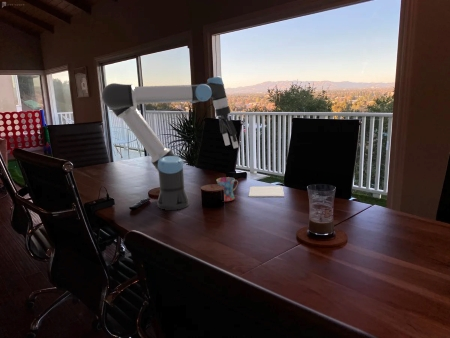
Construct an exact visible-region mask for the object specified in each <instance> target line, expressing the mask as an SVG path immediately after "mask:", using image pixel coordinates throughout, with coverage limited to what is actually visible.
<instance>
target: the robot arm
mask: <svg viewBox="0 0 450 338" xmlns="http://www.w3.org/2000/svg"><path fill="white" fill-rule="evenodd" d="M101 99H102V102H103V104H104V105H105V106H106V107H108V108H109V109H111V112H112V113H114V115H115V116H116V117H117V118H119V119H122V120H123V122H124V123H125V124H126V126H127V127H128V128H129V129H130V131H131V132H132V133H133V135H134V136H135V137H136V139H137V140H138V141H139V144H141V146H142V147H143V148H144V150H145V151H146V152H147V153H148V155H149V157H151V160H150V161H151V164H152V165H153V166H154V168H155V169H156V170H157V172H158V180H159V195H158V199H157V208H158V207H159V208H161V209H160V210H162V209H165V210H164V211H177V209H178V210H182V209H186V208H187V207H189V206H190V200H189V197H188V194H187V192H186V190H185V178H184V162H183V159H182V158H181V157H179V156H177V155H175V154H174V153H173V151H172V150H171V148H168V147H165V145H164V144H163V143H162V141H161V140H160V138H159V137H158V135H157V133H155V131H154V130H153V128H152V127H151V126H150V124H149V123H148V121H147V120H146V119H145V118H144V116H143V115H142V114H141V112H140V111H139V110H138V105H143V104H145V105H147V104H148V105H149V104H163V103H164V104H165V103H167V104H168V103H186V102H187V103H190V104H194V103H199V102H207V101H209V99H212V104H213V107H214V111H215V115H216V117H218V122H219V133H220V134H222V138H223V141H224V145H225V146H229V145H231V143H232V147H233V149H237V148H239V143H238V139H237V135H238V132H237V130H236V127H235V125H234V122H233V120H232V116H231V115H230V113H231V109H230V105H229V102H228V101H229V98H227V93H226V89H225V85H224V81H223V78H222V76H220V75H218V76H215V77H210V78H208V79H207V82H206V83H200V84H179V85H177V84H176V85H150V86H149V85H148V86H147V85H146V86H143V85H142V86H135V85H133V84H132V83H131V84H122V83H116V82H115V83H113V82H112V83H109V84H107V85H106V86H104V87H103V89H102V93H101ZM228 132H229V134H228ZM229 137H230V138H229ZM230 139H231V142H230ZM159 208H158V209H159Z"/></svg>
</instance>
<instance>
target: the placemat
mask: <svg viewBox="0 0 450 338" xmlns="http://www.w3.org/2000/svg"><path fill="white" fill-rule="evenodd" d="M248 197H249V198H285V193H284V188H283V186H282V185H281V186H274V185H273V186H271V185H270V186H268V185H267V186H250V187H249V192H248Z"/></svg>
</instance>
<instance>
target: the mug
mask: <svg viewBox="0 0 450 338" xmlns="http://www.w3.org/2000/svg"><path fill="white" fill-rule="evenodd" d="M235 182H236V186H235V187H234V184H235ZM216 183H217V185H220V186H223V187H224V201H223V202H230V201H231V202H232V201H234V200H235V198H236V197H235V195H234V191H235V190H236V189H237V187H238V186H239V181H238V180H237V179H235V178H234V177H229V176H228V177H227V176H226V177H219V178H217V179H216Z"/></svg>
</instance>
